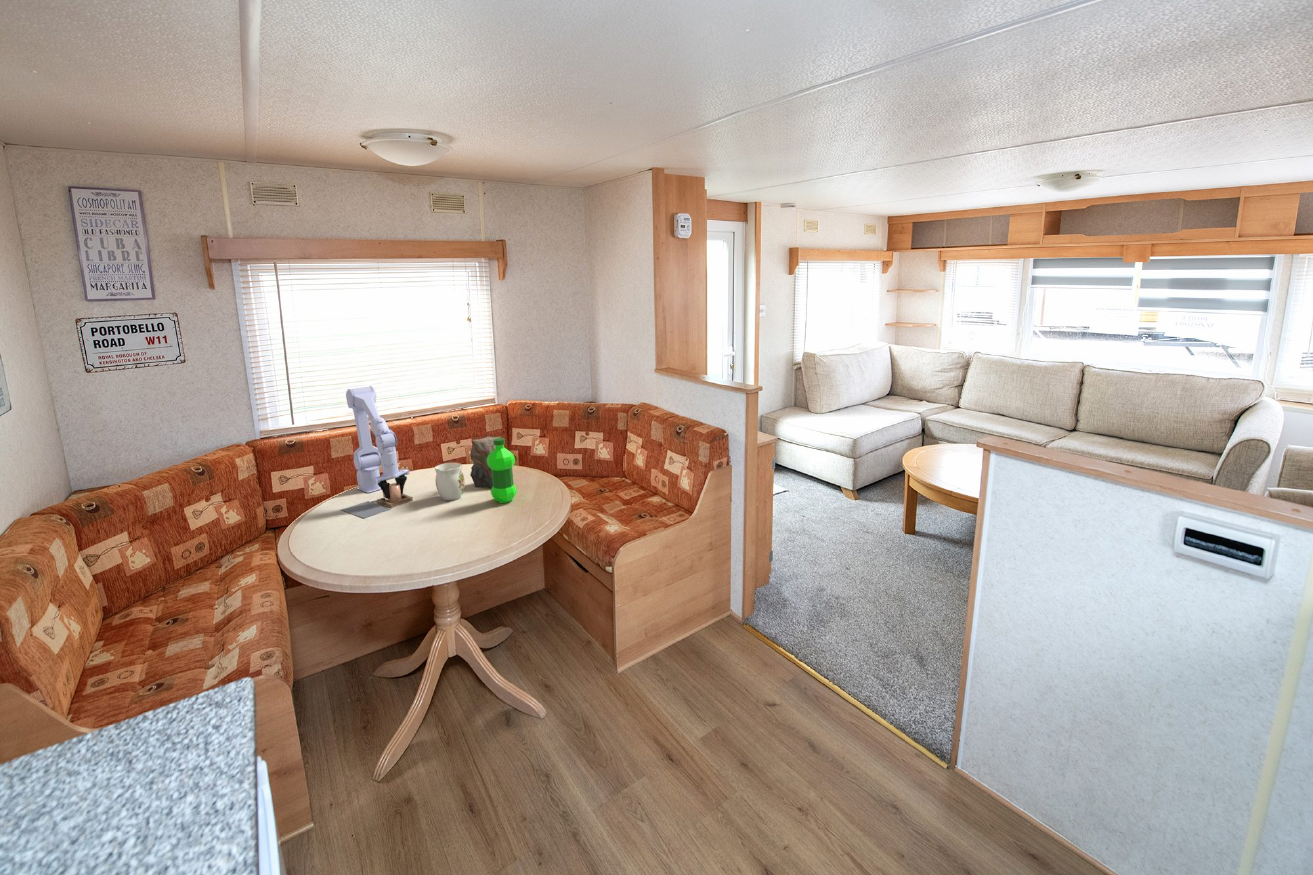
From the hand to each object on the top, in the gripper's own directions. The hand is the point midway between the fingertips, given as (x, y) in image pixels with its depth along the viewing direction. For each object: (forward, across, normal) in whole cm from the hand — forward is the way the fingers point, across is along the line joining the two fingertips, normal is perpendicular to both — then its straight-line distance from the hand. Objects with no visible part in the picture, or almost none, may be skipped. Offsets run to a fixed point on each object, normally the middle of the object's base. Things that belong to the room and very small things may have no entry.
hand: (394, 496), depth 243 cm
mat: (+2, -11, +2) cm, 11 cm away
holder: (+2, 0, 0) cm, 2 cm away
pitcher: (+3, +16, -15) cm, 22 cm away
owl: (+3, +34, -17) cm, 38 cm away
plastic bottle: (+3, +24, -37) cm, 44 cm away
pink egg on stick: (+2, 0, +2) cm, 3 cm away
